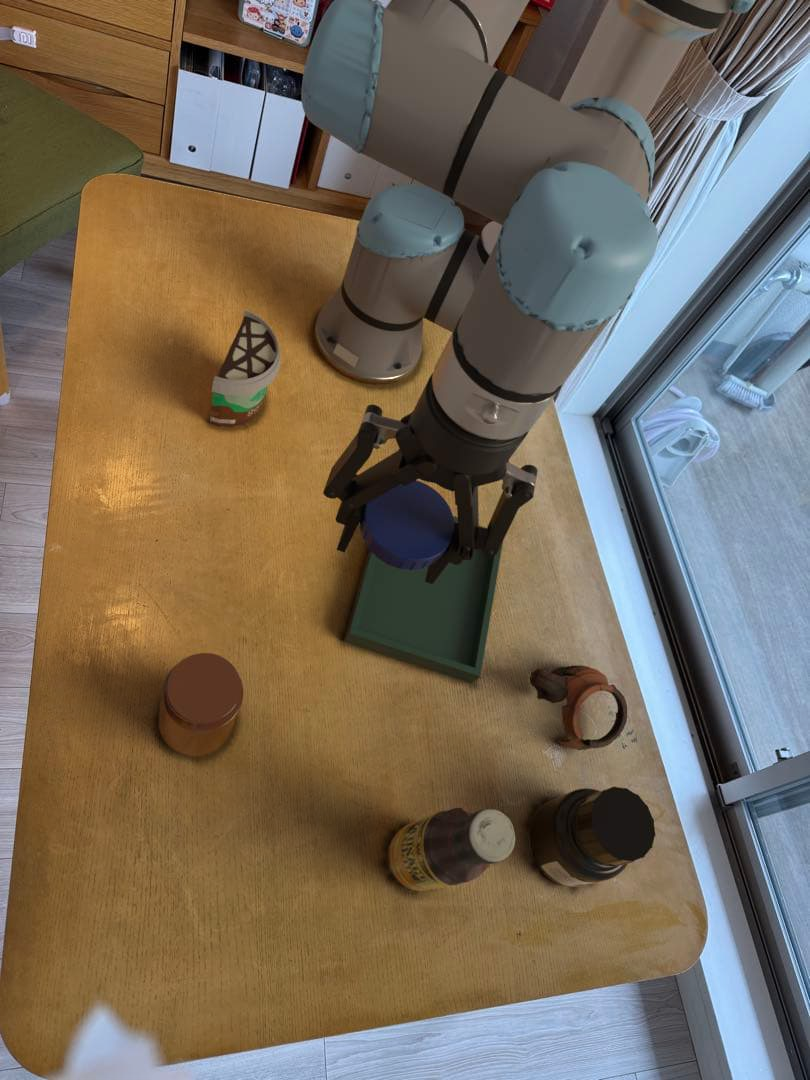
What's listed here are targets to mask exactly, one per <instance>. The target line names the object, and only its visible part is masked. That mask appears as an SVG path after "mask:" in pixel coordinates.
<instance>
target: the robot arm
mask: <svg viewBox="0 0 810 1080" xmlns="http://www.w3.org/2000/svg"><path fill="white" fill-rule="evenodd" d="M529 2H530V0H389V2H388V3H387V5H386V6H383V2H381V1H380V0H333V1H332V2H331V3H330V4H329V5H328V7H327V10H326V11H325V13H324V14H323V16H322V18H321V20H320V22H319V23H318V26H317V28H316V31H315V33H314V36H313V39H312V41H311V44H310V47H309V50H308V53H307V56H306V61H305V65H304V70H303V74H302V81H301V82H302V83H301V95H300V96H301V97H300V98H301V106H302V110H303V112H304V115H305V116H306V118H307V120H309V122H310V123H311V124H312V125H313V126H315V127H316V128H318V129H320V130H322V131H324V132H325V133H326V134H328V135H329V136H331V137H333V138H335V139H336V140H338V141H340V142H341V143H343V144H344V145H346V146H348V147H349V148H351V150H352V151H354V152H355V153H357V154H362V155H364V156H366V157H368V158H369V159H371V160H373V161H376V162H378V163H380V164H382V165H383V166H385V167H387V168H390V169H391V170H394V171H396V172H397V173H400V174H402V175H404V176H405V177H407V178H410V179H412V180H413V181H416V182H418V183H419V184H415V183H400V184H397V185H389V186H386V187H384V188H382V189H380V190H379V191H377V192H376V193H375V194H374V195H373V196H372V197H370V199H369V201H368V202H367V204H366V206H365V209H364V212H363V214H362V216H361V219H360V220H359V222H358V224H357V226H356V229H355V230H356V231H355V232H356V233H355V237H354V242H353V245H352V249H351V252H350V255H349V259H348V261H347V265H346V269H345V272H344V274H343V279H342V281H341V285H340V286H339V287H338V288H337V289H336V291H335V292H334V293H333V294H332V295H331V296H330V297H329V299H328V300H327V301H326V302H325V303H324V305H323V306H322V308H321V309H320V311H319V313H318V315H317V317H316V318H317V319H316V321H315V325H314V340H315V343H316V347H317V349H318V351H319V353H320V354H321V356H322V357H323V358H324V360H325V361H326V362H327V363H328V364H329V365H330V366H331V367H332V368H334V369H335V370H336V371H338V372H339V373H340V374H342V375H344V376H346V377H347V378H349V379H351V380H354V381H357V382H360V383H364V384H368V385H391V384H394V383H397V382H400V381H402V380H404V379H405V378H408V376H410V375H411V374H412V373H413V372H414V370H415V369H416V367H417V365H418V363H419V361H420V358H421V355H422V351H423V346H424V341H423V340H424V319H425V320H427V321H429V322H431V323H433V324H435V325H437V326H438V327H440V328H443V329H444V330H447V331H448V332H451V334H450V336H449V338H448V340H447V341H446V344H445V346H444V347H443V350H442V352H441V353H440V355H439V358H438V359H437V362H436V364H435V365H434V370H433V372H432V373H431V374H430V377H429V378H428V380H427V383H426V384H425V386H424V388H423V389H422V392H421V394H420V397H419V398H418V400H417V402H416V404H415V407H414V408H413V410H412V411H411V412H410V413H408V414H406V415H404V416H403V417H402V418H401V419H400V420H399V419H396V418H395V419H394V418H391V417H390V418H389V417H386V416H383V409H382V408H381V407H380V406H379V405H376V404H368V405H367V406H366V408H365V411H364V414H363V417H362V420H361V423H360V426H359V429H358V432H357V433H356V435H355V436H354V437H353V439H352V440H351V441H350V443H349V444H348V446H347V447H346V448H345V449H344V451H343V452H342V454H341V455H340V456H339V457H338V458H337V460H336V462H335V463H334V464H333V466H332V467H331V469H330V472H329V474H328V477H327V480H326V483H325V486H324V489H323V492H322V493H323V496H325V497H326V498H328V499H330V500H332V499H333V500H335V499H339V501H340V504H339V507H338V510H337V513H336V516H335V521H336V523H337V524H341V525H343V529H342V531H341V535H340V538H339V542H338V544H337V547H336V551H338V552H341V553H343V554H344V553H346V551H347V549H348V547H349V545H350V542H351V541H352V539H353V537H354V535H355V533H356V530H357V529H358V528H359V526H360V521H361V519H362V516H363V513H364V508H365V504H366V503H368V502H370V501H372V500H374V499H375V498H377V497H379V496H381V495H382V494H384V493H386V492H388V491H390V490H391V489H393V488H395V487H397V486H399V485H400V484H402V485H403V486H406V485H408V484H410V483H412V482H414V481H415V480H417V481H418V480H419V481H420V480H421V481H423V482H427V483H432V484H436V485H438V486H439V487H441V488H442V489H445V490H448V491H449V492H453V493H454V502H455V503H454V504H455V506H456V512H457V518H458V523H454V534H453V538H452V540H451V542H450V544H449V545H448V547H447V548H446V549H445V550H446V551H445V553H444V554H443V555H442V557H441V558H439V559H438V560H437V561H435V562H434V564H433V565H432V564H431V565H429V566H428V571H427V575H426V579H425V582H427V583H430V584H433V583H434V582H435V580H436V579H437V578H438V576H439V575H440V574H441V573H442V571H443V570H444V569H445V567H446V566H447V565H448V563H452V564H454V565H458V564H461V562H462V561H463V560H471V559H472V557H473V552H474V549H480V550H483V553H484V554H485V555H487V556H495V555H496V554H497V553H498V550H499V548H500V546H501V544H502V542H503V543H504V540H505V538H506V536H507V534H508V532H509V529H510V527H511V526H512V524H513V521H514V519H515V517H516V515H517V513H518V511H519V509H520V508H522V507H523V506H524V505H525V504H527V503H528V502H530V501H531V500H532V499H533V498H534V496H535V495H534V494H535V490H536V483H537V477H538V471H539V470H538V467H536V466H535V465H532V464H524V465H523V466H522V467H518V466H517V465H515V464H513V463H511V462H510V459H511V458H512V456H513V455H514V454H515V452H517V450H518V448H519V447H520V445H521V444H522V443H523V441H525V439H526V437H527V436H528V435H529V432H530V431H531V429H532V428H533V427H534V426H535V424H536V423H537V421H538V420H539V418H540V417H541V416H542V415H543V413H545V410H546V409H547V408H548V406H549V405H550V404H551V403H552V401H553V400H554V398H555V396H556V395H557V394H558V392H559V391H560V390H561V388H562V386H564V384H565V382H566V381H567V380H568V379H569V377H570V375H571V374H573V372H574V370H575V369H576V368H577V366H578V365H579V364H580V362H581V361H582V360H583V358H584V357H585V355H586V354H587V353H588V351H589V350H590V349H591V348H592V346H593V345H594V343H595V342H596V341H597V339H598V338H599V337H600V335H601V334H602V333H603V331H604V330H605V328H606V327H607V326H608V325H609V324H610V322H611V320H613V318H614V317H615V316H617V314H618V313H619V312H620V311H621V310H623V309H624V308H625V306H626V305H627V304H628V302H630V300H631V298H632V296H633V295H634V293H635V291H636V289H635V287H636V285H637V283H638V281H639V280H640V279H641V278H642V276H643V274H644V272H645V271H646V269H647V268H648V266H649V265H650V264H651V262H652V260H653V258H654V256H655V253H656V251H657V247H658V241H659V236H658V235H659V234H658V227H657V226H656V224H655V222H654V221H653V220H652V219H651V212H652V211H651V209H650V206H649V204H648V203H649V201H650V198H651V192H652V188H653V179H654V173H655V165H656V163H655V162H656V161H655V160H656V149H655V147H656V146H655V141H654V136H653V134H652V131H651V129H650V126H649V124H648V123H647V121H646V120H647V118H648V116H649V114H650V113H651V111H652V109H653V108H654V106H655V105H656V103H657V101H658V99H659V97H660V96H661V94H662V93H663V90H664V89H665V87H666V85H667V83H668V82H669V80H670V78H671V77H672V76H673V73H674V71H675V70H676V68H677V66H678V65H679V63H680V61H681V59H682V58H683V56H684V55H685V53H686V51H687V49H688V48H689V46H690V44H691V43H692V42H694V40H696V39H699V38H702V37H704V36H707V35H709V34H712V33H715V32H716V31H717V30H718V28H719V27H720V25H721V24H722V22H723V20H724V19H725V18H726V15H727V14H728V12H729V11H730V10H731V12H732V13H734V14H745V13H747V12H748V11H750V9H751V8H752V7H753V5H754V4H755V2H756V0H608V1H607V3H606V5H605V7H604V10H603V12H602V13H601V16H600V17H599V19H598V22H597V24H596V25H595V28H594V29H593V32H592V34H591V36H590V38H589V40H588V42H587V44H586V47H585V48H584V51H582V52H583V53H582V54H581V57H580V58H579V61H578V63H577V65H576V67H575V69H574V71H573V73H572V74H571V75H572V76H571V77H570V79H569V81H568V83H567V85H566V87H565V90H564V92H563V94H562V96H561V98H560V100H557V99H555V98H553V97H551V96H549V95H548V94H545V93H543V92H542V91H539V90H538V89H536V88H534V87H532V86H530V85H528V84H527V83H524V82H522V81H521V80H519V79H517V78H514V77H513V76H511V75H510V74H508V73H506V72H505V71H503V70H501V69H498V68H496V67H495V66H494V65H495V63H496V61H497V59H498V58H499V56H500V54H501V53H502V51H503V48H504V47H505V45H506V43H507V41H508V40H509V38H510V36H511V34H512V32H513V31H514V29H515V27H516V25H517V24H518V22H519V20H520V18H521V16H522V15H523V13H524V11H525V9H526V8H527V6H528V4H529ZM456 202H457V203H458V204H460V205H462V206H464V207H466V208H468V209H470V210H471V211H474V212H476V213H478V214H479V215H481V216H484V217H485V218H487V219H489V220H491V221H490V222H488V223H486V225H485V226H484V227H483V228H482V231H481V233H480V235H478V234H476V233H474V232H472V231H470V230H468V229H466V228H465V219H464V217H465V216H464V214H463V212H462V209H461V208H460V206H457V205H456ZM391 439H394V440H395V442H396V444H397V446H398V450H396V451H395V452H393V453H391V454H390V455H388V456H387V457H384V458H383V459H382V460H380V461H379V462H377V463H376V464H374V465H372V466H370V467H368V468H367V469H365V470H364V471H362V472H361V473H359V474H358V472H359V471H360V470H361V469H362V467H363V466H364V465H365V463H366V462H367V461H368V460H369V459H370V457H371V456H372V453H373V451H374V450H379V449H380V448H381V446H382V445H385V444H386V443H387V441H388V440H391ZM501 480H502V484H501V489H502V493H501V494H500V497H499V499H498V501H497V503H496V507H495V508H494V511H493V513H492V515H491V518H490V520H489V522H488V524H487V526H486V527H485V528H481V527H479V526H480V515H479V514H480V513H479V487H481V486H485V485H489V484H492V483H497V482H499V481H501ZM502 545H503V544H502Z"/></svg>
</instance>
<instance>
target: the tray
mask: <svg viewBox="0 0 810 1080" xmlns="http://www.w3.org/2000/svg"><path fill="white" fill-rule="evenodd" d="M453 518H454V523H458V516H454V515H453ZM479 527H481V528H486V527H485V526H482V525H479ZM503 543H504V541H503V542H502V544H501V546H500V548H499V550H498V553H497V554H496V555H495V556H487V555H485V554H484V553H483V550H480V549H474V552H473V557H472V559H471V560H463V561H462V562H461V564H458V565H454V564H452V563H448V565H447V566H446V567H445V569H444V570H443V571H442V573H441V574H440V575H439V576H438V578H437V579H436V580H435V582H434V583H433V584H430V583H427V582H425V579H426V575H427V571H428V566H427V567H424V568H423V569H422V568H420V569H413V570H408V569H399V568H396V567H393V566H391V565H387V564H386V563H385V562H383V561H382V560H380V559H379V558H377V557H376V556H375V555H374V554H373V553H372V552H371V550H370V549H368V553H367V557H366V560H365V564H364V568H363V571H362V574H361V578H360V582H359V586H358V588H357V592H356V595H355V599H354V603H353V607H352V610H351V614H350V617H349V621H348V625H347V628H346V632H345V636H344V639H343V642H344V643H347V644H350V645H353V646H356V647H359V648H362V649H365V650H369V651H372V652H374V653H378V654H381V655H384V656H386V657H389V658H393V659H396V660H398V661H401V662H404V663H405V662H406V663H408V664H411V665H414V666H417V667H420V668H423V669H426V670H429V671H433V672H435V673H437V674H438V673H439V674H442V675H445V676H448V677H450V678H454V679H456V680H460V681H463V682H465V683H468V684H473V683H475V682H476V681H477V680H478V679H479V678H481V674H482V668H483V664H484V663H483V662H484V658H485V650H486V646H487V640H488V639H487V638H488V633H489V628H490V622H491V615H492V608H493V603H494V597H495V591H496V586H497V580H498V575H499V574H498V573H499V568H500V561H501V555H502V549H503Z"/></svg>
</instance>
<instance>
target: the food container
mask: <svg viewBox="0 0 810 1080" xmlns="http://www.w3.org/2000/svg"><path fill="white" fill-rule="evenodd" d="M281 361H282V359H281V349H280V344H279V341H278V338H277V335H276V334H275V332H274V331H273V329H272V328H271V326H270V325H269V324H268V323H267V322H266V321H265V320H264V319H262V318H261V317H260V316H258V315H257V314H255V313H253V312H251V311H249V310H247V309H244V312H243V318H242V320H241V323H240V326H239V329H238V330H237V332H236V335H235V337H234V339H233V341H232V343H231V345H230V347H229V349H228V352H227V354H226V357H225V359H224V361H223V364H222V366H221V367H220V369H219V372H218V374H217V376H216V375H214V378H213V381H212V385H211V386H212V387H211V393H212V396H211V407H210V418H209V424H210V425H213V426H217V427H225V428H226V427H227V428H228V427H229V428H233V427H238V426H243V425H246V424H247V423H250V422H251V421H253V420H254V419H255V418H256V416H257V415H258V414H259V412H260V410H261V407H262V405H263V402H264V399H265V396H266V394H267V390H268V387H269V385H271V384H272V383H273V382H274V381H275V379H276V378H277V376H278V374H279V372H280V370H281V369H280V368H281V363H282V362H281Z"/></svg>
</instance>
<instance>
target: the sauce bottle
mask: <svg viewBox="0 0 810 1080" xmlns="http://www.w3.org/2000/svg"><path fill="white" fill-rule="evenodd" d="M515 843H516V833H515V828H514V825H513V823H512V821H511V819H510V818H509V817H508V816H507V815H505V814H504V813H503V812H502V811H500V810H498V809H495V808H485V809H479V810H476V811H475V812H470V811H469V810H467V809H464V808H463V807H455V808H452V809H447V810H442V811H438V812H436V813H433V814H431V815H428V816H426V817H423V818H421V819H419V820H416V821H413V822H411V823H409V824H407V825H405V826H403V827H402V828H400V829H399V830H398V831H397V832H396V834H394V835H393V836H392V839H391V840H390V844H389V846H388V850H387V860H386V861H387V864H388V867H389V869H390V872H391V874H392V876H393V877H394V879H395V881H396V882H397V883H399V884H401V885H402V886H403V887H404V888H407V889H409V890H413V891H417V892H422V891H423V892H424V891H430V890H435V889H441V888H445V887H452V886H458V885H462V884H463V883H468V882H472V881H473V880H476V879H478V878H479V877H480V876H481V875H483V873H485V872H486V871H487V869H488V868H489V867H490V865H493V864H497V863H500V862H503V861H504V860H506V859H508V857H509V856H510V855H511V854H512V853H513V850H514V848H515Z"/></svg>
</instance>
